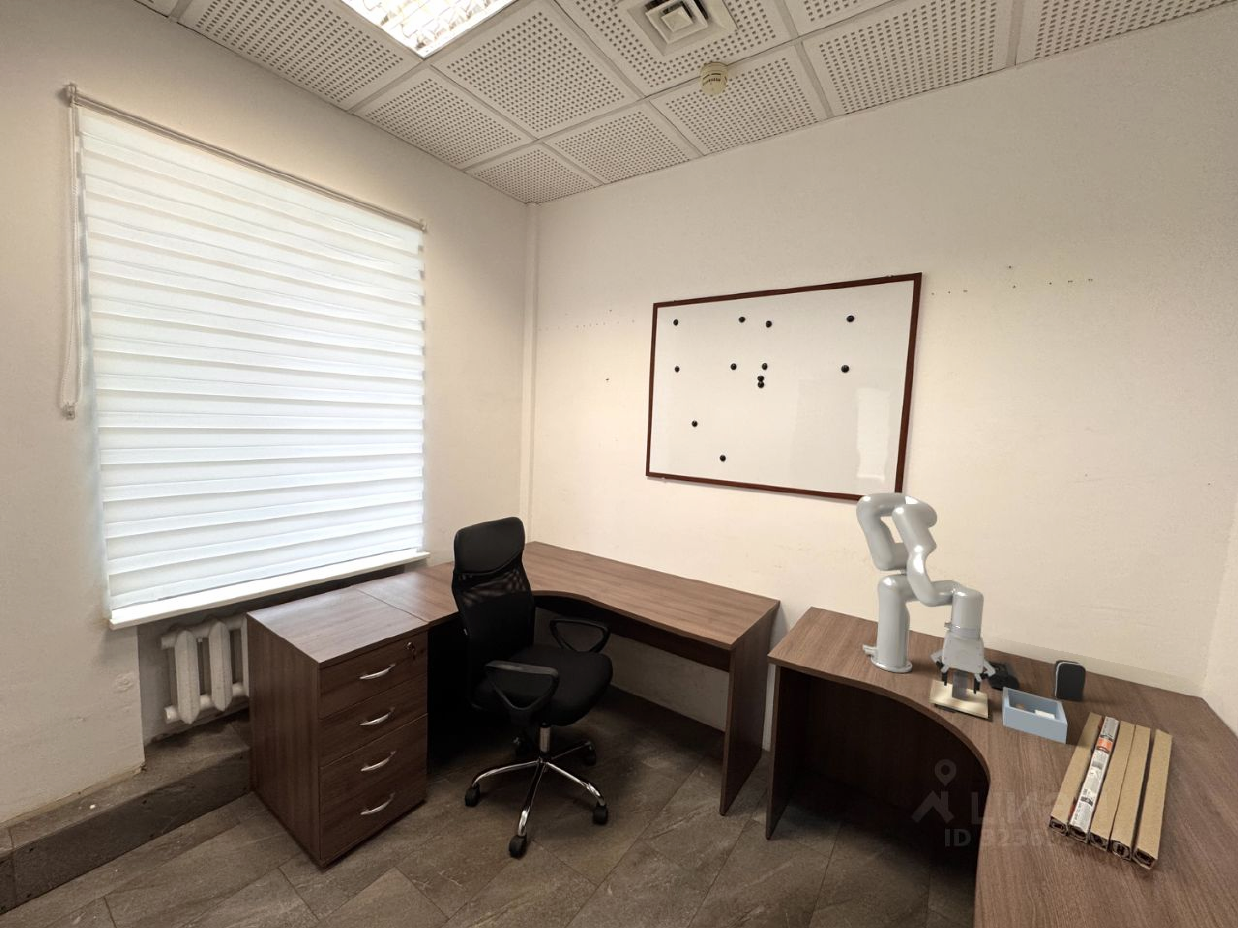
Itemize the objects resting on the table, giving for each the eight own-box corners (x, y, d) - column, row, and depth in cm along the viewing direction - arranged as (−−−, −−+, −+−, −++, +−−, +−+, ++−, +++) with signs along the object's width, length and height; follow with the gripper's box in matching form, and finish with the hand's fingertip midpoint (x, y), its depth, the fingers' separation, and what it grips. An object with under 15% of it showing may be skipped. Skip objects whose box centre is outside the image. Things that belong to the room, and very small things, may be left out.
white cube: (1035, 730, 138) (1036, 716, 138) (1033, 723, 141) (1035, 709, 141) (1054, 735, 136) (1055, 721, 135) (1052, 728, 139) (1054, 714, 139)
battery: (1076, 695, 157) (1080, 660, 156) (1083, 702, 153) (1087, 666, 152) (1049, 691, 159) (1053, 657, 158) (1055, 698, 155) (1059, 662, 154)
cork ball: (1013, 716, 144) (1014, 705, 144) (1012, 711, 147) (1013, 700, 147) (1027, 720, 142) (1028, 709, 142) (1026, 715, 145) (1027, 704, 145)
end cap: (1018, 698, 155) (1020, 677, 155) (990, 691, 159) (992, 670, 158) (1013, 683, 164) (1015, 663, 163) (986, 677, 167) (988, 657, 167)
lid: (929, 704, 150) (931, 676, 149) (932, 684, 161) (934, 658, 160) (987, 721, 142) (990, 692, 141) (986, 699, 153) (989, 671, 152)
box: (1003, 727, 140) (1005, 706, 140) (1001, 705, 151) (1003, 686, 150) (1065, 745, 133) (1067, 724, 132) (1058, 721, 143) (1061, 701, 143)
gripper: (929, 627, 151) (925, 683, 153) (1002, 643, 141) (996, 703, 143) (931, 619, 157) (927, 673, 159) (1001, 633, 147) (995, 692, 149)
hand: (959, 687), depth 151 cm, fingers open, 6 cm apart
